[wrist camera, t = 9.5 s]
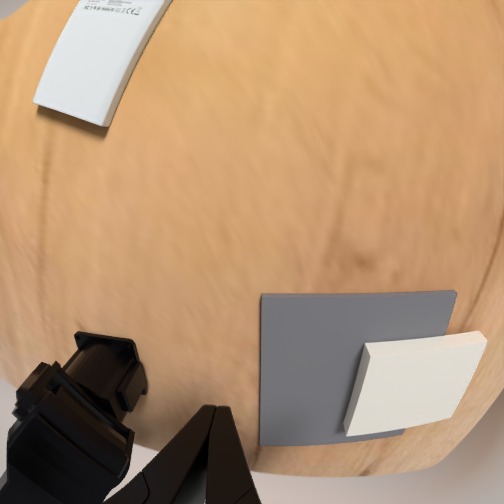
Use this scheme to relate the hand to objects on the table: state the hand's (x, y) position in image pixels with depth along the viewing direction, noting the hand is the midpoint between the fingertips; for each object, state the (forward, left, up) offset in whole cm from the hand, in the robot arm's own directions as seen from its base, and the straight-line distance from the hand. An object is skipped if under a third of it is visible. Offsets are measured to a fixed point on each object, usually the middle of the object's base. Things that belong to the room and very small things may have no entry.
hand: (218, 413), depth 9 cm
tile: (+9, -11, -11) cm, 18 cm away
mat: (+9, -11, -13) cm, 19 cm away
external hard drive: (-11, +18, -14) cm, 25 cm away
